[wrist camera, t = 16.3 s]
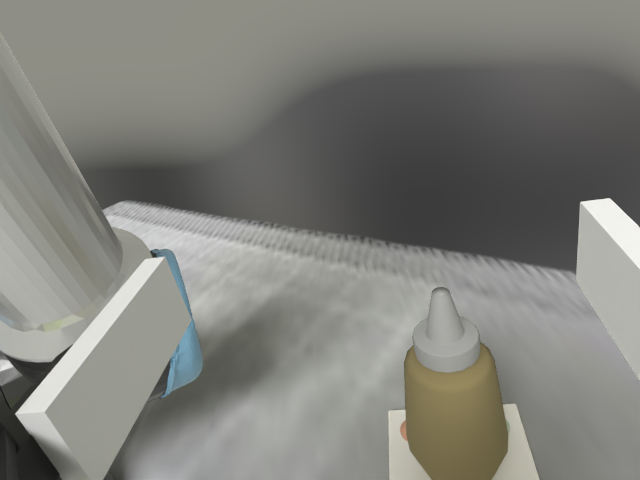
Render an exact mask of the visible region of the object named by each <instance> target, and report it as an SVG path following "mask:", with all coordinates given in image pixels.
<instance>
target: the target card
mask: <svg viewBox="0 0 640 480" xmlns="http://www.w3.org/2000/svg"><path fill="white" fill-rule="evenodd" d="M503 408H504V414H505V419H506V424H507V430H508V452H507V454H506V456H505V458H504V459H503V461H502V463H501V465H500V466H499V468H498V470H497V472H496V473H495V475H494V477H493V478H492V480H540V479H539V476H538V473H537V470H536V467H535V463H534V460H533V457H532V454H531V451H530V447H529V444H528V441H527V438H526V435H525V431H524V428H523V425H522V422H521V419H520V416H519V412H518V409H517V406H516V404H503ZM388 424H389V480H432V479H431V478H430V477H429V476H428V474H427V473H426V472H425V470H424V469H423V468H422V466H421V465H420V464H419V462H418V461H417V460H416V458H415V457H414V456H413V454H412V453H411V452H410V449H409V444H408V440H407V436H406V410H389V411H388Z"/></svg>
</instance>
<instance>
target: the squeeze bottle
mask: <svg viewBox="0 0 640 480" xmlns="http://www.w3.org/2000/svg"><path fill="white" fill-rule="evenodd" d="M412 337H413V344H414V345H413V346H412V347H411V348H410V349H409V350H408V351H407V355H406V358H405V361H404V378H405V409H406V436H407V440H408V444H409V449H410V452H411V453H412V454H413V456H414V457H415V458H416V460H417V461H418V462H419V464H420V465H421V466H422V468H423V469H424V470H425V472H426V473H427V474H428V476H429V477H430V478H431V479H432V480H492V478H493V477H494V475H495V473H496V472H497V470H498V468H499V466H500V465H501V463H502V461H503V459H504V458H505V456H506V454H507V452H508V430H507V424H506V419H505V414H504V408H503V403H502V398H501V393H500V387H499V382H498V377H497V371H496V366H495V361H494V358H493V356H492V354H491V352H490V350H489V349H488V347H486V346H485V345H484V344H482V343H481V342H480V337H479V332H478V330H477V328H476V326H475V325H474V324H473V323H472V322H470V321H469V320H468V319H466V318H463V317H460V316H458V313H457V310H456V308H455V305H454V302H453V300H452V297H451V294H450V292H449V290H448V289H447V288H444V287H439V288H435V289H434V290H433V291H432V295H431V302H430V309H429V316H428V318H427V319H425V320H423V321H421V322H420V323H419V324H418V325H417V327H416V328H415V329H414V333H413V336H412Z"/></svg>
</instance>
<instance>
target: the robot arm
mask: <svg viewBox="0 0 640 480" xmlns="http://www.w3.org/2000/svg"><path fill="white" fill-rule="evenodd" d="M577 257H578V258H577V275H576V282H577V284H578V285H579V287H580V288H581V290H582V291H583V293H584V295H585V296H586V298H587V299H588V301H589V302H590V304H591V305H592V307H593V309H594V310H595V312H596V313H597V315H598V316H599V318H600V320H601V321H602V323H603V324H604V326H605V327H606V329H607V331H608V332H609V334H610V335H611V337H612V338H613V340H614V341H615V343H616V345H617V346H618V348H619V349H620V351H621V352H622V354H623V356H624V357H625V359H626V360H627V362H628V363H629V365H630V367H631V368H632V370H633V371H634V373H635V374H636V376H637V377H638V379H639V381H640V227H639V226H638V225H637V224H636V223H635V222H634V221H633V220H632V219H630V218H629V217H628V216H627V215H626V214H625V213H624V212H623V211H622V210H621V209H620V208H619V207H618V206H617V205H616V204H615V203H614V202H613V201H612V200H611V199H610V198H607V199H601V200H592V201H585V202H580V218H579V238H578V256H577ZM202 368H203V356H202V351H201V347H200V343H199V338H198V334H197V331H196V327H195V324H194V320H193V318H192V313H191V309H190V304H189V300H188V297H187V293H186V290H185V286H184V283H183V279H182V276H181V273H180V269H179V266H178V263H177V260H176V257H175V255H174V253H173V252H172V251H171V250H168V249H162V250H158V249H154V250H151V251H149V249H148V248H147V246H146V245H145V244H144V242H143V241H142V240H141V239H139V238H138V237H137V236H136V235H134V234H132V233H130V232H128V231H125V230H122V229H118V228H114V227H111V226H110V224H109V222H108V220H107V219H106V217H105V215H104V213H103V212H102V210H101V208H100V206H99V205H98V203H97V201H96V199H95V198H94V196H93V194H92V192H91V191H90V189H89V187H88V185H87V183H86V182H85V180H84V178H83V177H82V175H81V173H80V171H79V169H78V168H77V166H76V164H75V162H74V161H73V159H72V157H71V155H70V153H69V152H68V150H67V148H66V147H65V145H64V143H63V141H62V139H61V138H60V136H59V134H58V132H57V131H56V129H55V127H54V126H53V124H52V122H51V120H50V118H49V116H48V115H47V113H46V111H45V109H44V108H43V106H42V104H41V102H40V101H39V99H38V97H37V96H36V94H35V92H34V90H33V88H32V87H31V85H30V83H29V81H28V80H27V78H26V76H25V74H24V73H23V71H22V69H21V67H20V66H19V64H18V62H17V60H16V58H15V57H14V55H13V53H12V52H11V50H10V48H9V46H8V44H7V43H6V41H5V39H4V37H3V35H2V34H1V32H0V480H113V477H112V475H111V473H110V472H109V468H110V466H111V465H112V463H113V461H114V459H115V457H116V456H117V454H118V452H119V450H120V448H121V447H122V445H123V443H124V441H125V439H126V438H127V436H128V434H129V432H130V430H131V429H132V427H133V425H134V423H135V421H136V420H137V418H138V416H139V414H140V412H141V411H142V409H143V407H144V405H145V403H146V402H149V401H151V400H154V399H156V398H164V397H166V396H168V395H169V394H170V393H171V392H172V391H174V390H176V389H178V388H180V387H182V386H184V385H186V384H188V383H191V382H192V381H194V380H195V379H196V378H197V377H198V376H199V375H200V373H201V371H202Z"/></svg>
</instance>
